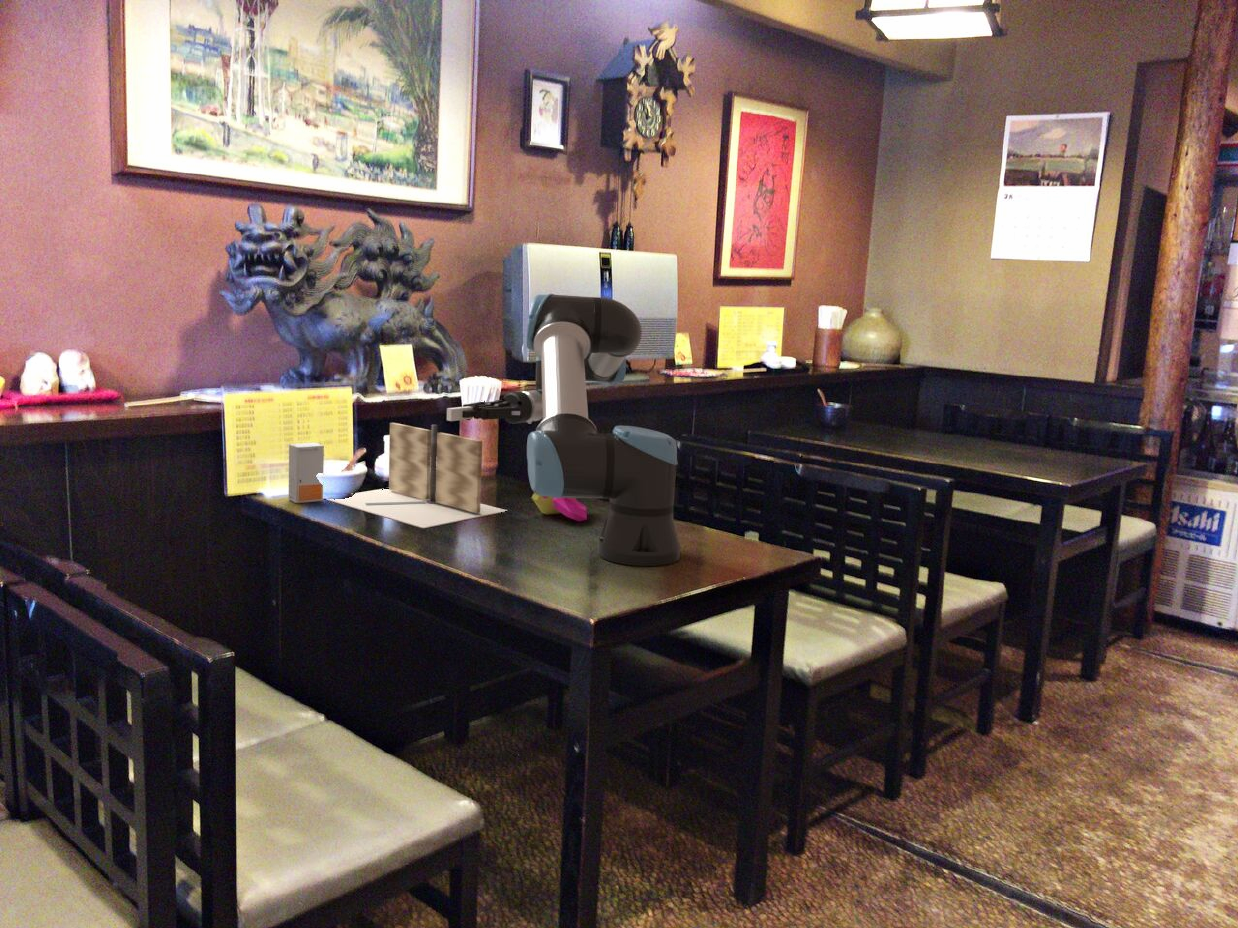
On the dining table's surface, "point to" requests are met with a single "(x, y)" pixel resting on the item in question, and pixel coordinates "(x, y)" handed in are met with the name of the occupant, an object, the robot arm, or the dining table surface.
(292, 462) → the skincare box
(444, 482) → the panel
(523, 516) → the dining table surface
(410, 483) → the fence gate
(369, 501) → the card
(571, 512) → the toy
